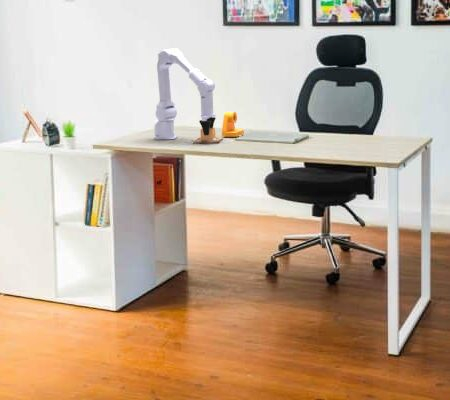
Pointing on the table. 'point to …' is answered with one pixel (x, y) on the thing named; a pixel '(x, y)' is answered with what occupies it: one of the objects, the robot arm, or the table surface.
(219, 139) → the post base
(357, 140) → the table surface
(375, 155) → the table surface
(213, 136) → the collar
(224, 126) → the bracket
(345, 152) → the table surface
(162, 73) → the robot arm
